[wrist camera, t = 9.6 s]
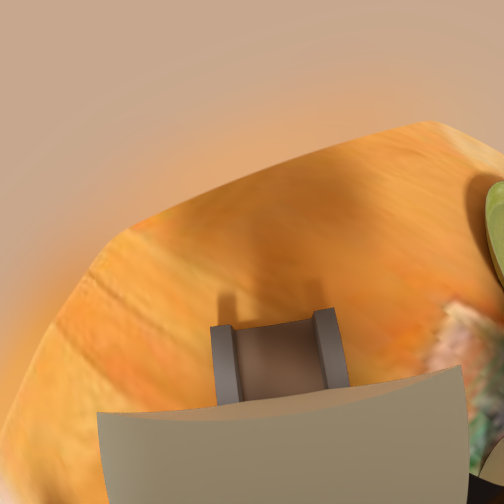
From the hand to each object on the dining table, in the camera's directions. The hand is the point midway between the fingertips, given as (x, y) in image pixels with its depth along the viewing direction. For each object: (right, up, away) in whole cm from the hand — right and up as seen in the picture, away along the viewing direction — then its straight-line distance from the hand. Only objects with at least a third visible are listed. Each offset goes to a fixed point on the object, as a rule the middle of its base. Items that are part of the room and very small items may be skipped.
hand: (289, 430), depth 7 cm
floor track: (+2, -7, +10) cm, 13 cm away
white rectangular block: (+1, -4, +5) cm, 7 cm away
